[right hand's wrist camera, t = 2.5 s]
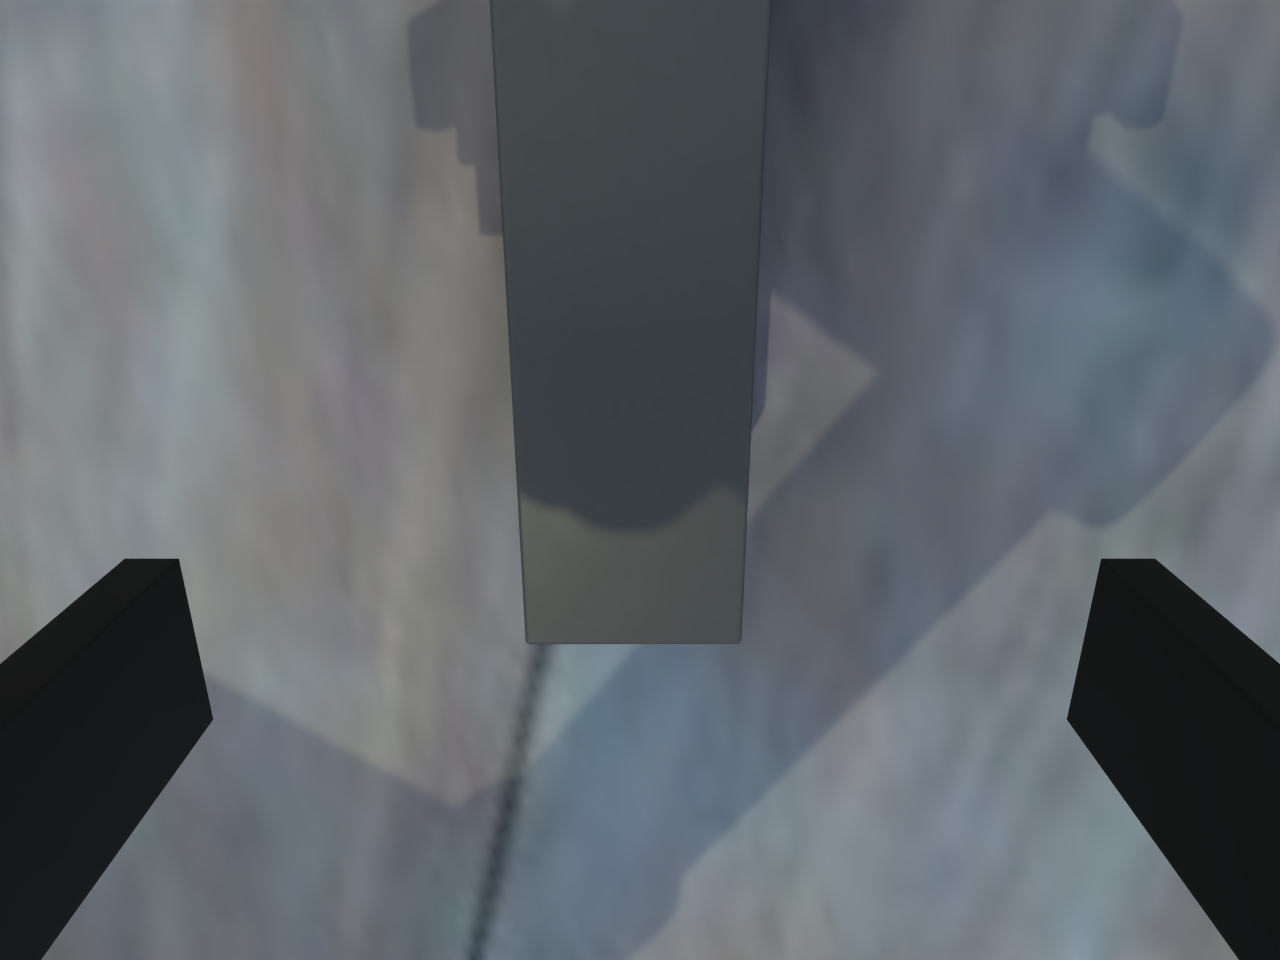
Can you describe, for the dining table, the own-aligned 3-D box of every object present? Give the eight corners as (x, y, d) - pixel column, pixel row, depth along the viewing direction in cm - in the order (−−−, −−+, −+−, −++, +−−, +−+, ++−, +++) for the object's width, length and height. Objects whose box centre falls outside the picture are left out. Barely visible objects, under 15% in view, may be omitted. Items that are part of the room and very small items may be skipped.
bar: (712, 502, 28) (741, 645, 20) (556, 503, 28) (525, 646, 20) (742, -420, 20) (808, -766, 12) (520, -420, 20) (445, -767, 12)
